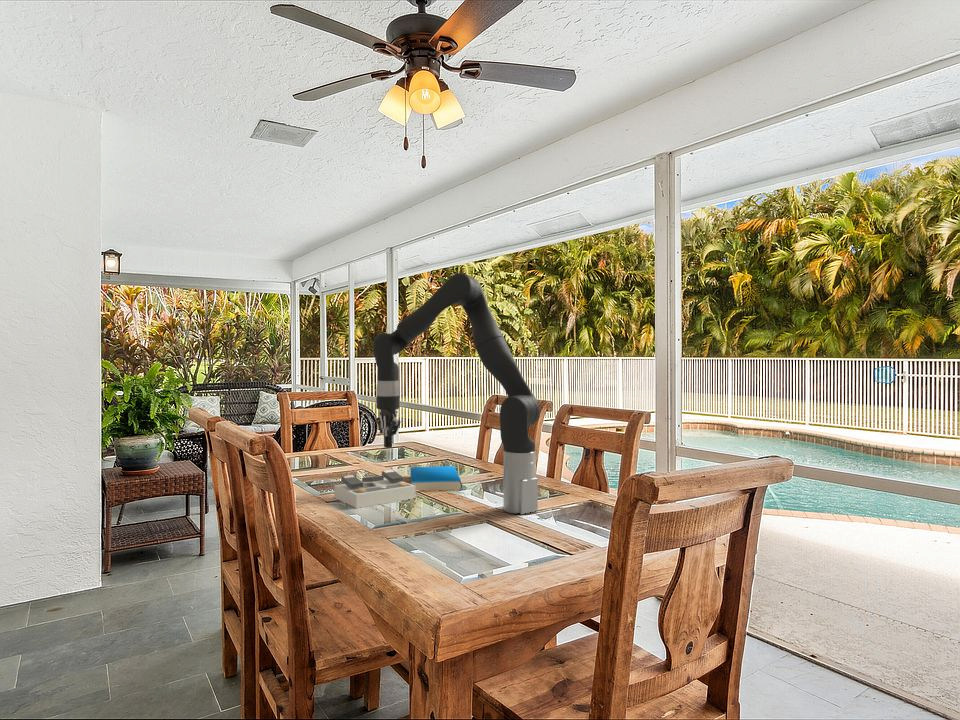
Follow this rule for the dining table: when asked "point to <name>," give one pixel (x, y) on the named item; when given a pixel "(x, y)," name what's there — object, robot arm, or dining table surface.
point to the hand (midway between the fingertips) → (387, 447)
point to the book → (435, 478)
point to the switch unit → (375, 493)
